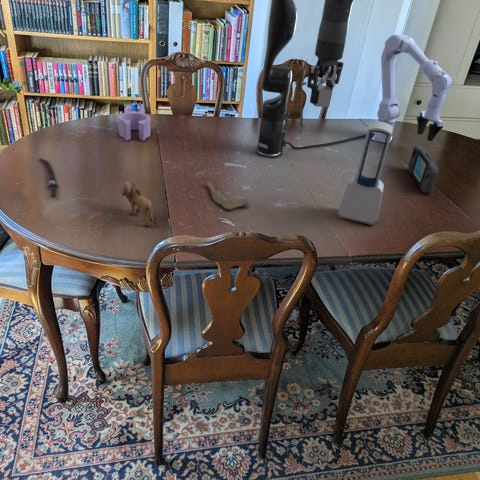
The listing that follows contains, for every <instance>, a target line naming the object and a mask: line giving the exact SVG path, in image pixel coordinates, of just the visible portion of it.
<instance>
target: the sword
mask: <svg viewBox="0 0 480 480" xmlns="http://www.w3.org/2000/svg"><path fill="white" fill-rule="evenodd" d="M40 161H41V162H42V163H43V165H44V166H45V169H46V173H47V176H48V185H47V188H50V198H56V197H57V189H56V188H57V187H59V185H58V184H57V183H56V180H55V176H54V172H53V169H52V167H51V164H50V163H49V161H48V160H46V159H43V158H40Z"/></svg>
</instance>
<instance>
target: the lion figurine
mask: <svg viewBox="0 0 480 480" xmlns="http://www.w3.org/2000/svg"><path fill="white" fill-rule="evenodd" d="M119 193H120V194H121V196H122V197H124V196H125V198H126V199H127V200H128V202H129V203H130V207H131V211H130V212H129V213H130V215H135V214H136V211H137V212H141V214H142V216H143V218H144V219H145V223H144V225H145V227H149V226H150V221H152V223H153V225H155V226H159V222H156V221H155V219H154V217H153V216H154V215H153V204H152V202H151V200H150V199H148V198H146V197H145V196H144V195H143V194H142V192H141V190H140V187H138V185H136V184H135V183H133V182H132V181H125V182H124V186H122V188H121V189H119ZM136 207H137V208H136ZM148 214H149V216H148Z"/></svg>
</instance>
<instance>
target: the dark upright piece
mask: <svg viewBox="0 0 480 480" xmlns="http://www.w3.org/2000/svg"><path fill="white" fill-rule="evenodd" d="M307 62H308V60H307V59H306V60H305V62H304V63H305V64H304V69H303V68H301V69H300V68H299V67H297V66H292V68H291V70H292V73H299V72H301V73H300V76H299V80H296V81H295V84H294V85H297V86H296V87H295V91H294V94H293V97H292V100H291V103H290V106H289V109H288V112H287V113H286V117H285V123H284V130H285V128H286V126H287V124H288V123H293V124H299V132H302V127H303V126H304V120H305V119H304V115H303V114H304V110H303V109H304V107H303V104H304V103H303V102H304V101H303V100H304V98H303V96H304V95H303V90H304V88H303V86H307V83H308V82H307V81H304V80H305V76H306V68H307V64H308V63H307ZM297 92H300V96H296V95H297ZM295 101H297V102H300V106H298V105H293V104H294V102H295ZM292 108H298V109H292ZM299 109H300V110H299ZM291 111H293V112H299V113H300V114H299V115H300V116H299V117H297V116H291V115H290V114H291ZM289 118H291V119H292V118H294V119H299V122H297V121H291V120H289Z"/></svg>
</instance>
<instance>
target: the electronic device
mask: <svg viewBox="0 0 480 480" xmlns="http://www.w3.org/2000/svg"><path fill="white" fill-rule="evenodd" d="M375 132H380V133H383V134H385V135H387V136H386V140H385V143H384V144H383V148H382V150H381V151H382V152H381V155H380V159H379V162H378V166H377V169H376V172H375V177H368V176H365V175H363V174H362V173H363V171H364V166H365V162H366V158H367V154H368V150H369V147H370V142H371V140H372V136H373V135H372V133H375ZM393 132H394V128H393V126H391V125H390V124H387V123H385V122H378V121H370V123H369V125H368V128H367V130H366V134H367V135H366V134H365V135H366V137H365V140H364V143H363V147H362V152H361V156H360V160H359V164H358V167H357V171H356V174H354V175H352V176H350V177H349V179H348V182H347V185H346V188H345V190H344V194H343V196H342V198H341V202H340V204H339V207H338V210H337V215H338V217H339V218H340V219H345V220H349V221H353V222H357V223H361V224H366V225H370V226H374V225H376V224H377V223H378V222H379V216H380V211H381V204H382V199H383V193H384V187H385V184H384V183H383V181H382V180H381V179H380V178H381V176H382V172H383V168H384V165H385V161H386V158H387V154H388V150H389V146H390V144H389V143H391V142H390V140H391V137H393ZM369 134H370V135H369ZM388 136H389V137H388ZM387 140H388V141H387ZM391 141H392V140H391Z"/></svg>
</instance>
